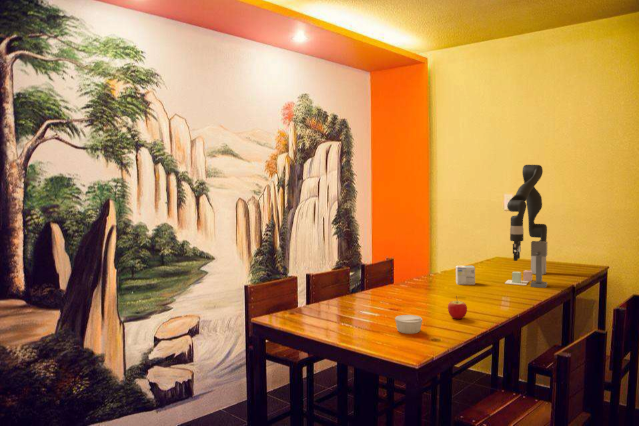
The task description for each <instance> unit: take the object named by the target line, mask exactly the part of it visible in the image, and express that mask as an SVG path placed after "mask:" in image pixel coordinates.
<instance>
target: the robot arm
mask: <svg viewBox="0 0 639 426" xmlns="http://www.w3.org/2000/svg"><path fill="white" fill-rule="evenodd" d="M543 172H544V171H543V167H542V165H540V164H524V165H523V167H522V179H523V184H521V185H520V186H519V187H518V189H517V191H516V193H515V194H514V195H513V196H512V197H511V198H510V199H509V201H508V202H507V204H506V205H507V210H508V211H509V212H510V213H511V212H512V213H513V212H516V213H517V214H516V215H512V216H511V217H510V229H509V241H511V242H513V243H512V255H513V261H514V262H517V261H518V260H520V258H521V251H522V249H521V243H522V242H523V241H524V217H525V212H526V210H527V217H528V235H529V236H530V237H531V238H535V239H536V238H540V239H539V241H545V242H547V238H548V236H547V235H548V226H547V224H545V223H535V220H536V217H537V216H538V214H539V212H540V211H541V209H542V208H543V198H542V196H541V193H540V192H539V191H538V190H537V188H536V187H535V186H536V185H537V183H539V181H540V180H541V178H542V176H543ZM530 271H532V275H533V274H534V275H536V256H531V255H530ZM542 275H547V256H546V257H542Z"/></svg>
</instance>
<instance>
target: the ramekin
mask: <svg viewBox="0 0 639 426" xmlns="http://www.w3.org/2000/svg"><path fill="white" fill-rule="evenodd" d="M394 321H395V324H396V329H397V331H398V332H399V333H402V334H412V335H414V334H417V333H419V332H421V328H422V323H423V318H422V317H421V316H419V315H413V314H402V315H397V316H395V318H394Z"/></svg>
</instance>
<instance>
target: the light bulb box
mask: <svg viewBox="0 0 639 426" xmlns="http://www.w3.org/2000/svg"><path fill="white" fill-rule="evenodd" d="M455 283H456V285H460V286H461V285H463V286H466V285H467V286H469V285H471V286H472V285H473V286H474V285H476V267H475V266H474V265H455Z"/></svg>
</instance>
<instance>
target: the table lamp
mask: <svg viewBox="0 0 639 426" xmlns="http://www.w3.org/2000/svg"><path fill="white" fill-rule="evenodd" d="M531 256H536V274H535V280H532V281H531V282H530V287H532V288H543V289H545V288H547V286H548V282H547V281H543V274H542V257H546V258H547V256H548V241H546V242H545V241H540V240H532V241H531V242H530V257H531Z"/></svg>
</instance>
